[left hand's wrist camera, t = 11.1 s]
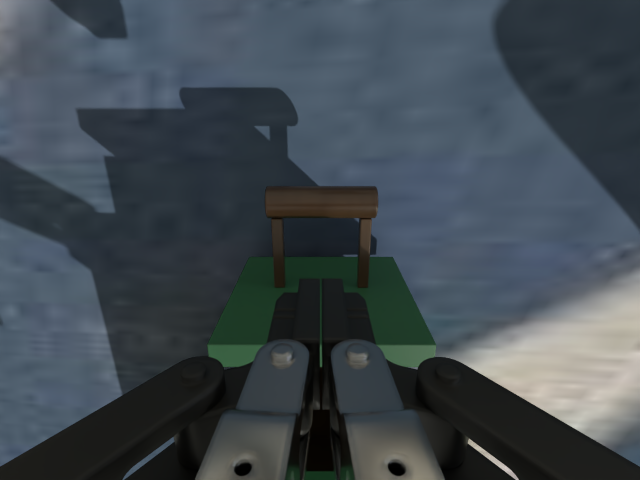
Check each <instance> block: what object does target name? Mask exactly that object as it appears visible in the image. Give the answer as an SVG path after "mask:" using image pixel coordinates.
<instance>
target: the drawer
mask: <svg viewBox="0 0 640 480" xmlns="http://www.w3.org/2000/svg"><path fill="white" fill-rule="evenodd" d="M265 211H266V216H267V218H272V219H271V227H272V248H273V257H249V259H248V261H247V263H246V265H245V267H244V269H243V271H242V273H241V275H240V277H239V280H238V282H237V284H236V286H235V288H234V290H233V292H232V294H231V296H230V298H229V300H228V302H227V304H226V307H225V309H224V311H223V313H222V315H221V317H220V319H219V321H218V323H217V325H216V327H215V329H214V332H213V334H212V336H211V338H210V340H209V342H208V344H207V348H208V355H209V357H212V358H215V359H217V360H219V361H220V362H221V364H222V365H223V367H240V366H243V365H246V364H248V363H250V362H252V361H254V358H255V355H256V353H257V351H258V350H259V349H260V348H261V347H262V346H263V345H265V344H266V343H267V339H268V335H269V330H270V326H271V321H272V318H273V313H274V308H275V304H276V300H277V299H278V298H279V297H280V296H281V295H282V294H283V293H284V292H298V286H299V279H320V410H313V420H312V425H311V428H310V442H309V451H308V459H307V468H306V471H334V468H333V459H332V451H331V442H330V409H322V278H342V280H343V287H344V292H358V293H359V294H360V295H361V296H362V297H363V298H364V299H365V300H366V304H367V308H368V313H369V318H370V321H371V325H372V329H373V334H374V338H375V342H376V345H377V346H378V347H379V348H380V349H381V350H382V351H383V353H384V355H385V358H386V359H387V360H389V361H390V362H392V363H394V364H397V365H400V366H403V367H419V365H420V363H421V362H423V361H424V360H426V359H428V358H433V357H435V350H436V343H435V341H434V339H433V337H432V335H431V333H430V331H429V329H428V327H427V325H426V323H425V321H424V319H423V317H422V315H421V313H420V311H419V309H418V307H417V305H416V303H415V301H414V299H413V297H412V295H411V293H410V291H409V289H408V287H407V285H406V283H405V281H404V279H403V277H402V275H401V273H400V271H399V269H398V267H397V265H396V263H395V261H394V259H393V257H370V243H371V224H372V219H371V218H375V217H376V215H377V211H378V191H377V188H376V187H375V186H267V187H266V191H265ZM283 218H359V239H358V257H285V249H284V222H283Z"/></svg>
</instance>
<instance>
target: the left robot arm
mask: <svg viewBox="0 0 640 480" xmlns="http://www.w3.org/2000/svg"><path fill="white" fill-rule="evenodd" d="M322 409H330V442H331V451H332V459H333V468H334V477H335V480H515V479H514V478H513V477H511V476H510V475H509V474H507V473H506V472H505V471H503V470H502V469H501V468H499V467H498V466H497V465H495V464H494V463H493V462H491V461H490V460H489V459H487V458H486V457H485V456H484V455H482V454H481V453H480V452H478V451H477V450H476V449H474V448H473V447H472V446H470V445H469V444H468V439H471V440H472V441H473V442H475V443H476V444H477V445H479V446H480V447H481V448H483V449H484V450H486V451H487V452H488V453H490V454H491V455H492V456H494V457H495V458H496V459H498V460H499V461H500V462H502V463H503V464H504V465H506V466H507V467H508V468H509V469H511V470H512V471H513V472H514V474H515V475H516V476H517V477H518V479H519V480H640V467H639V466H638V465H636V464H634V463H632V462H631V461H629V460H627V459H626V458H624V457H622V456H620V455H619V454H617V453H615V452H614V451H612V450H610V449H608V448H607V447H605V446H603V445H602V444H600V443H598V442H596V441H595V440H593V439H591V438H590V437H588V436H586V435H584V434H583V433H581V432H579V431H577V430H576V429H574V428H572V427H571V426H569V425H567V424H565V423H564V422H562V421H560V420H559V419H557V418H555V417H553V416H552V415H550V414H548V413H547V412H545V411H543V410H541V409H540V408H538V407H536V406H535V405H533V404H531V403H529V402H528V401H526V400H524V399H523V398H521V397H519V396H517V395H516V394H514V393H512V392H511V391H509V390H507V389H505V388H504V387H502V386H500V385H499V384H497V383H495V382H493V381H492V380H490V379H488V378H487V377H485V376H483V375H481V374H480V373H478V372H476V371H475V370H473V369H471V368H469V367H468V366H466V365H464V364H462V363H461V362H458V361H456V360H453V359H450V358H445V357H433V358H428V359H426V360H424V361H423V362H421V363H420V365H419V367H418V370H416V369H412V368H408V367H403V366H400V365H397V364H394V363H392V362H390V361H389V360H387V359H386V358H385V355H384V353H383V351H382V350H381V349H380V348H379V347H378V346H377V345H376V342H375V338H374V334H373V329H372V325H371V321H370V318H369V313H368V308H367V304H366V300H365V299H364V298H363V297H362V296H361V295H360V294H359V293H358V292H344V287H343V280H342V278H322ZM313 410H320V279H299V286H298V292H284V293H283V294H282V295H281V296H280V297H279V298H278V299H277V300H276V304H275V308H274V313H273V318H272V321H271V326H270V330H269V335H268V339H267V343H266V344H265V345H263V346H262V347H261V348H260V349H259V350H258V351H257V353H256V355H255V358H254V361H252V362H250V363H248V364H246V365H243V366H240V367H235V368H231V369H227V370H224V368H223V365H222V364H221V362H220V361H219V360H217V359H215V358H212V357H207V356H199V357H192V358H189V359H186V360H183V361H181V362H179V363H177V364H176V365H174V366H172V367H171V368H169V369H167V370H165V371H164V372H162V373H160V374H159V375H157V376H155V377H153V378H152V379H150V380H148V381H147V382H145V383H143V384H141V385H140V386H138V387H136V388H135V389H133V390H131V391H129V392H128V393H126V394H124V395H123V396H121V397H119V398H117V399H116V400H114V401H112V402H111V403H109V404H107V405H105V406H104V407H102V408H100V409H99V410H97V411H95V412H93V413H92V414H90V415H88V416H87V417H85V418H83V419H81V420H80V421H78V422H76V423H75V424H73V425H71V426H69V427H68V428H66V429H64V430H63V431H61V432H59V433H57V434H56V435H54V436H52V437H51V438H49V439H47V440H45V441H44V442H42V443H40V444H39V445H37V446H35V447H33V448H32V449H30V450H28V451H27V452H25V453H23V454H21V455H20V456H18V457H16V458H14V459H13V460H11V461H9V462H8V463H6V464H4V465H2V466H1V467H0V480H122V479H123V477H124V476H125V475H126V473H127V472H128V471H129V470H130V469H131V468H132V467H133V466H134V465H136V464H137V463H138V462H140V461H141V460H142V459H144V458H145V457H146V456H148V455H149V454H150V453H152V452H153V451H154V450H156V449H157V448H159V447H160V446H161V445H163V444H164V443H165V442H167V441H168V440H169V439H171V438H172V437H173V436H174V441H175V442H174V443H172V444H171V445H170V446H168V447H167V448H166V449H164V450H163V451H162V452H160V453H159V454H158V455H156V456H155V457H154V458H153V459H151V460H150V461H149V462H147V463H146V464H145V465H143V466H142V467H141V468H139V469H138V470H137V471H135V472H134V473H133V474H131V475H130V476H129V477H127V478H126V479H125V480H305V477H306V468H307V459H308V451H309V442H310V428H311V425H312V420H313Z"/></svg>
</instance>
